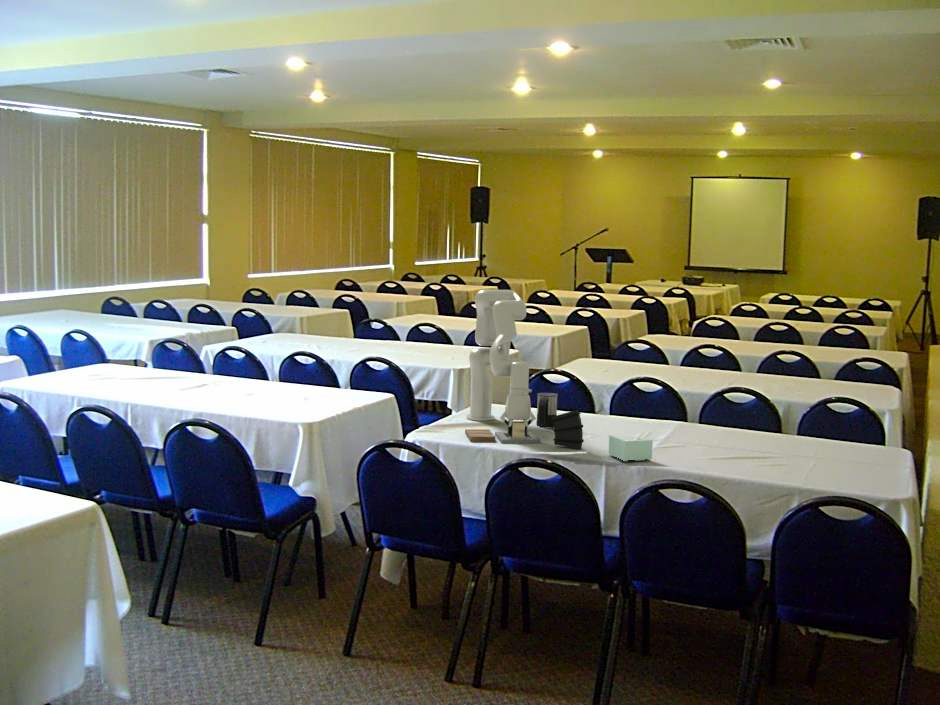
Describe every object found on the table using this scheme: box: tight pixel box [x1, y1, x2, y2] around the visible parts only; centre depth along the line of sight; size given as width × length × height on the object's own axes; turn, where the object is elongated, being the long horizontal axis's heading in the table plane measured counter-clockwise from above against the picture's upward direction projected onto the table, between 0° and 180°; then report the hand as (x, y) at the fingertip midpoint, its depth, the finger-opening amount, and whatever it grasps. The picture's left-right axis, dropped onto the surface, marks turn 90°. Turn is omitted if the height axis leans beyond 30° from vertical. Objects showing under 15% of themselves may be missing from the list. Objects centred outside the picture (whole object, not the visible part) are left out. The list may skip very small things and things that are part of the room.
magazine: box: [551, 409, 585, 450], centre depth 399 cm, size 4×13×15 cm, turn 65°
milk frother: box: [535, 392, 559, 428], centre depth 439 cm, size 14×16×15 cm
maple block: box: [509, 420, 526, 438], centre depth 414 cm, size 5×5×7 cm
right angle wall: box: [608, 434, 654, 462], centre depth 387 cm, size 12×12×8 cm
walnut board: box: [464, 428, 496, 443], centre depth 415 cm, size 16×10×2 cm, turn 8°
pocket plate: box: [494, 431, 542, 444], centre depth 414 cm, size 16×16×2 cm
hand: (517, 435), depth 414 cm, fingers closed on maple block, 5 cm apart
